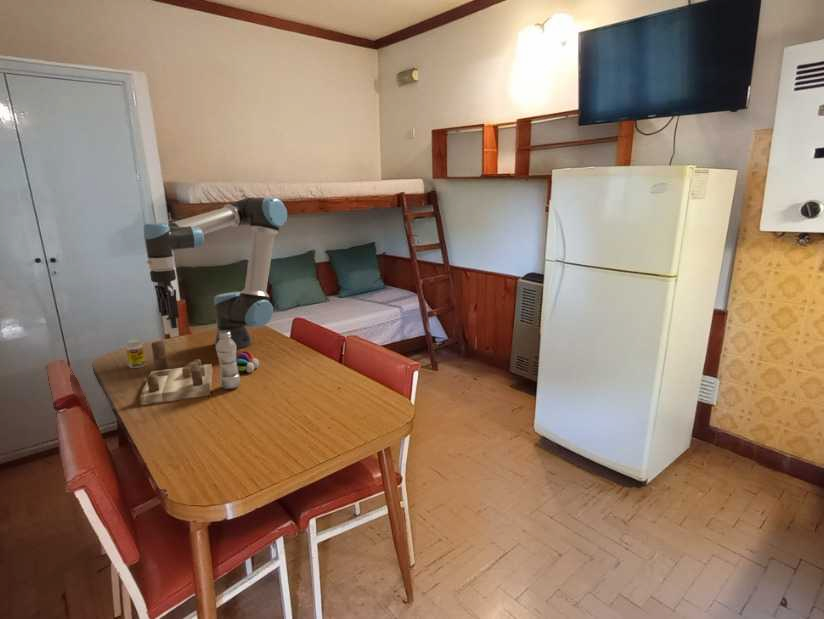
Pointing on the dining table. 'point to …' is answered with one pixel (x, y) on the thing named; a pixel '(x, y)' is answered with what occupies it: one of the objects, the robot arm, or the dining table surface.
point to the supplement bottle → (135, 354)
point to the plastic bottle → (227, 361)
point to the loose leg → (159, 356)
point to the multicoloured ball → (246, 362)
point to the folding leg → (191, 367)
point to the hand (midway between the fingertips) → (171, 334)
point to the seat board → (176, 385)
